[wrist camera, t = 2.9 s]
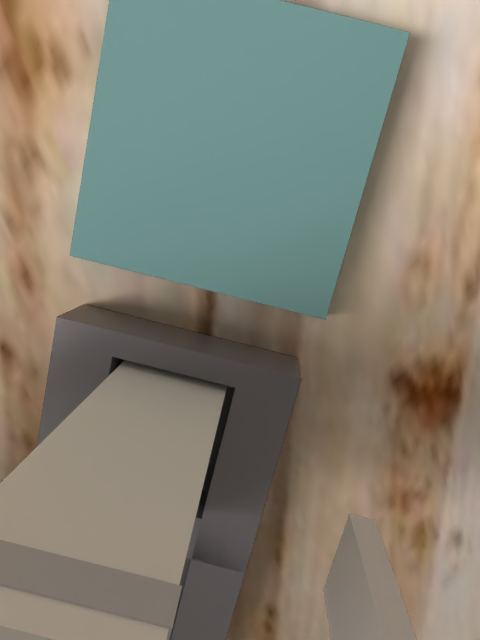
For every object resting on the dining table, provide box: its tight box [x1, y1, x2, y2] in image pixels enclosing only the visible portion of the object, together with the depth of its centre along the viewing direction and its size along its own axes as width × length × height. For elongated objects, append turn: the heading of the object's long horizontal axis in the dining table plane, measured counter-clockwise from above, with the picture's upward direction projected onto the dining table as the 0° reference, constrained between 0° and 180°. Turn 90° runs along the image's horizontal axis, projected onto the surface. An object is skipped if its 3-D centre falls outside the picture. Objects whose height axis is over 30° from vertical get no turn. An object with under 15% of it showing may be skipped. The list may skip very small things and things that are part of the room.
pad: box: [70, 0, 410, 320], centre depth 17 cm, size 10×10×1 cm
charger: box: [0, 360, 227, 640], centre depth 13 cm, size 5×4×12 cm
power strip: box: [37, 304, 302, 640], centre depth 19 cm, size 15×9×3 cm, turn 166°
